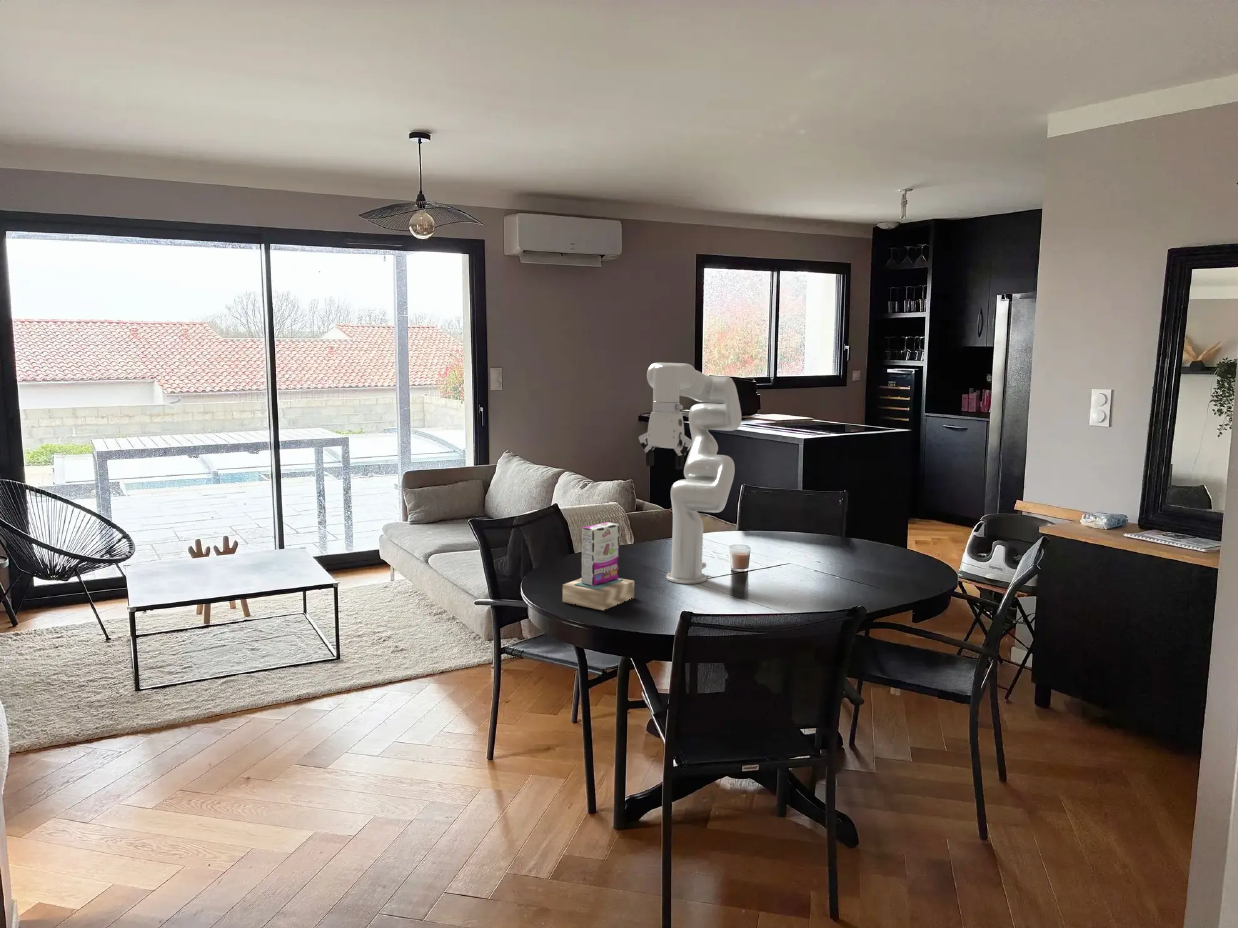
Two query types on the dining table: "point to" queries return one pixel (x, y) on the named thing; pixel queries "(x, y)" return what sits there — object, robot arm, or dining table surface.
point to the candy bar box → (600, 553)
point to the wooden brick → (598, 593)
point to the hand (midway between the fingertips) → (664, 467)
